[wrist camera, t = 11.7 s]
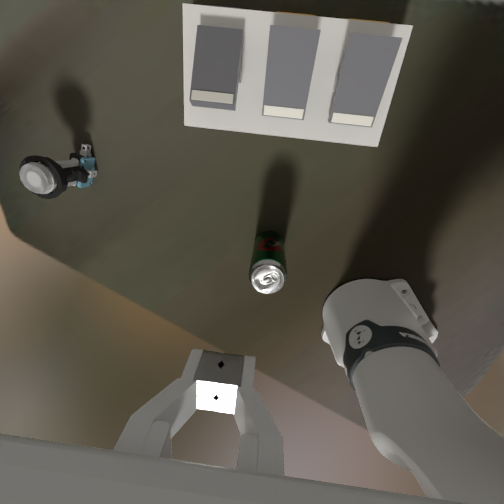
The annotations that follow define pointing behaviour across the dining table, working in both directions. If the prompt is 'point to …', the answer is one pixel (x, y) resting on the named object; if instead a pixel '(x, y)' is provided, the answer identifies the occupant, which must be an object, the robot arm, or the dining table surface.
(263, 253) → the soda can
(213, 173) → the dining table surface
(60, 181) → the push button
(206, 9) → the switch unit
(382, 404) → the robot arm
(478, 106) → the dining table surface
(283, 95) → the middle rocker
